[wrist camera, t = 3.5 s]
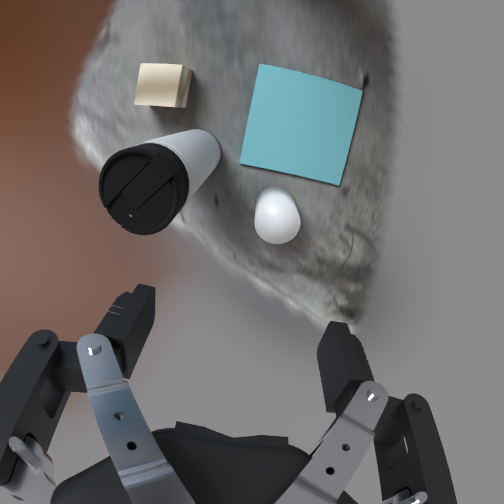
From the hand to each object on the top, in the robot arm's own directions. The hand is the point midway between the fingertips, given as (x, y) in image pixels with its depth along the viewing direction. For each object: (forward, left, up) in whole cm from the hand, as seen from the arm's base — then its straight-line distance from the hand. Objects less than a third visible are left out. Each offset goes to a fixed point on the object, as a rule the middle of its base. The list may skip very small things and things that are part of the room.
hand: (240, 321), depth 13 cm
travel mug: (-3, -8, -27) cm, 28 cm away
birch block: (-11, -13, -27) cm, 32 cm away
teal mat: (-9, +4, -27) cm, 28 cm away
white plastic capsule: (+2, +3, -27) cm, 27 cm away
